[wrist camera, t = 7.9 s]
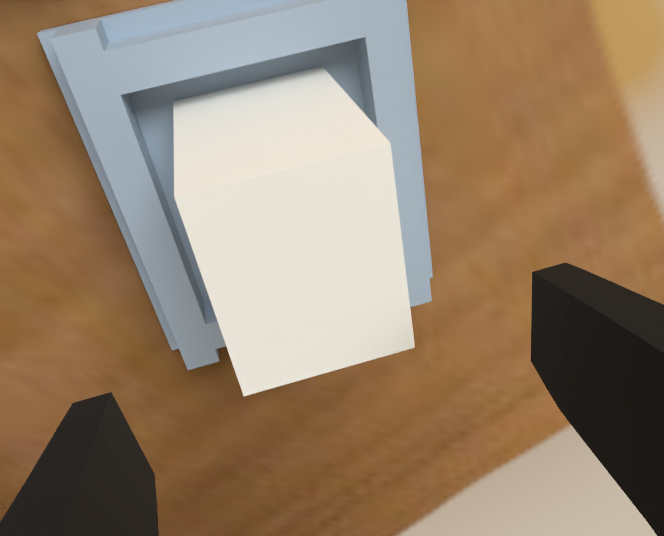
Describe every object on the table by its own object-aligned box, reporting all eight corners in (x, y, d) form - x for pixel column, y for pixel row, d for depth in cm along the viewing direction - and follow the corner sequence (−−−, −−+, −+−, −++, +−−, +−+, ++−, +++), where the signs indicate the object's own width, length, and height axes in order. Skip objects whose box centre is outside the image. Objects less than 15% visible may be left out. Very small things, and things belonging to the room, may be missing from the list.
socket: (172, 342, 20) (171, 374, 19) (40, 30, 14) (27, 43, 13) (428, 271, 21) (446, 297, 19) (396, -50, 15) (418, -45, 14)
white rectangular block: (224, 260, 18) (243, 396, 13) (173, 101, 16) (173, 196, 11) (350, 227, 19) (414, 347, 14) (322, 65, 16) (390, 142, 11)
